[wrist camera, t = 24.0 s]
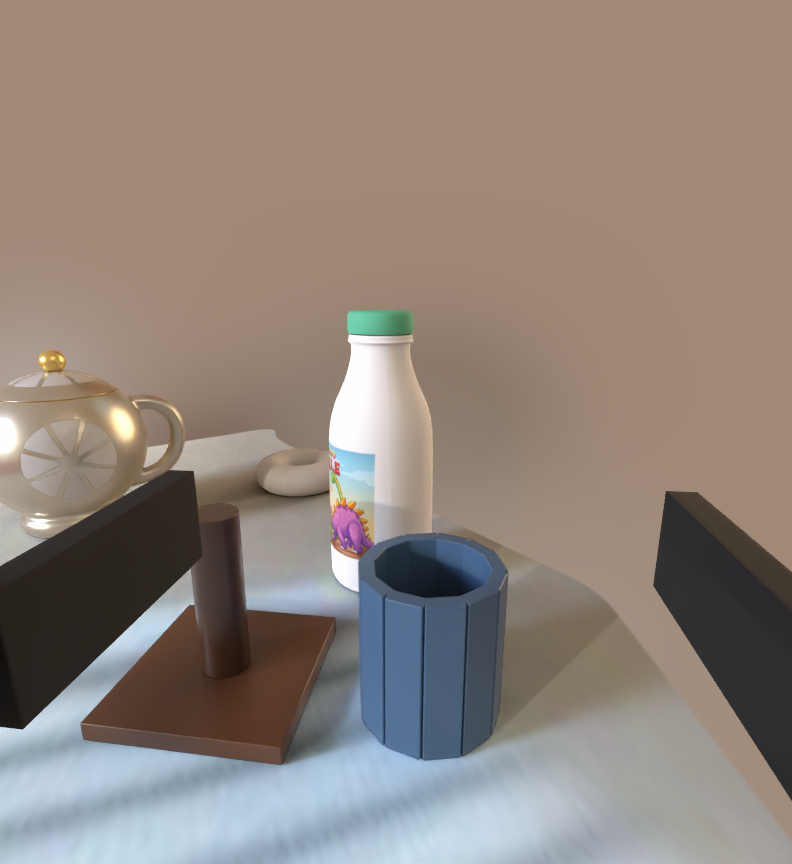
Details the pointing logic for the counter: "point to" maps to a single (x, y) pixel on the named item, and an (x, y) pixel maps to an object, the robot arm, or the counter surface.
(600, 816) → the counter surface
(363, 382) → the milk bottle
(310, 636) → the post stand
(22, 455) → the teapot
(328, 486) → the donut
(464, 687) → the ring sleeve
